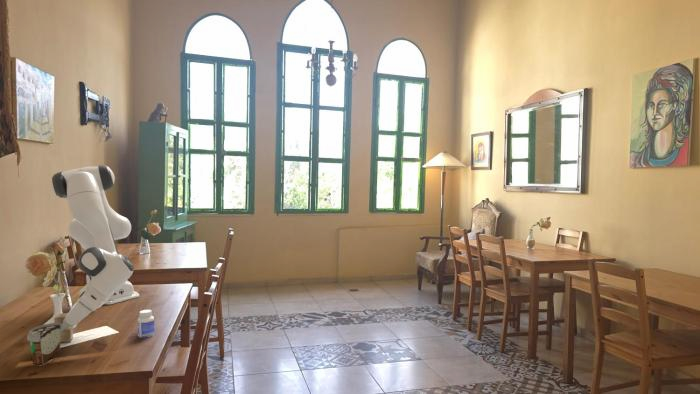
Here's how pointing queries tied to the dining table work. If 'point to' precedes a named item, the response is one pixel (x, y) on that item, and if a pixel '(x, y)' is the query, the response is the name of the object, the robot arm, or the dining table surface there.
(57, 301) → the flower in vase
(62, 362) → the dining table surface
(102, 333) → the board
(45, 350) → the food container
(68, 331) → the sanding block
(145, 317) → the pill bottle
